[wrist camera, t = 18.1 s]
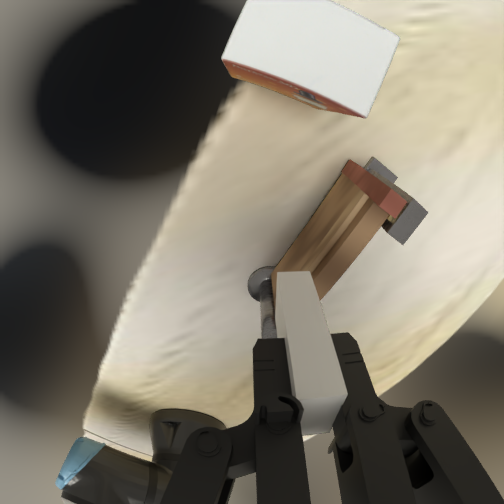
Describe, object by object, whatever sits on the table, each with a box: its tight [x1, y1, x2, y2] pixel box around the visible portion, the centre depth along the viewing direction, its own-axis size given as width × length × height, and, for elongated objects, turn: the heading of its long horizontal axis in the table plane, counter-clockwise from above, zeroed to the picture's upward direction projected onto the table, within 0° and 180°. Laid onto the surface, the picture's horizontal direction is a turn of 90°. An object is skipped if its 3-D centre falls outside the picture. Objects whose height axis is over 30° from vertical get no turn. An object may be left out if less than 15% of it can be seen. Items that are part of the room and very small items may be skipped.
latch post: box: [364, 157, 428, 245], centre depth 21 cm, size 5×3×8 cm, turn 149°
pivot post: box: [248, 267, 277, 339], centre depth 26 cm, size 4×4×9 cm
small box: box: [221, 0, 400, 118], centre depth 15 cm, size 8×6×10 cm
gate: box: [271, 160, 407, 309], centre depth 23 cm, size 13×2×8 cm, turn 150°
